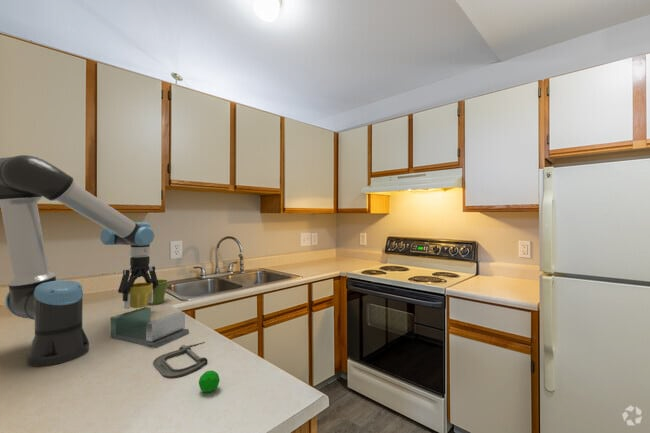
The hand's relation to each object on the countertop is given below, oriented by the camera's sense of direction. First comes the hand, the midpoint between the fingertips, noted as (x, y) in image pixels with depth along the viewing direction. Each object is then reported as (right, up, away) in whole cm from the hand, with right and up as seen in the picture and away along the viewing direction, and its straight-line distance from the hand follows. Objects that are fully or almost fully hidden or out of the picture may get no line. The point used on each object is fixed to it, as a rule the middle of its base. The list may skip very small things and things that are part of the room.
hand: (138, 305), depth 137 cm
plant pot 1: (0, -1, 0) cm, 1 cm away
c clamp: (+41, -6, -42) cm, 59 cm away
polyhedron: (+55, -5, -59) cm, 80 cm away
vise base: (+18, -5, -22) cm, 29 cm away
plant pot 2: (-5, -5, +22) cm, 23 cm away
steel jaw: (+26, -3, -25) cm, 36 cm away
